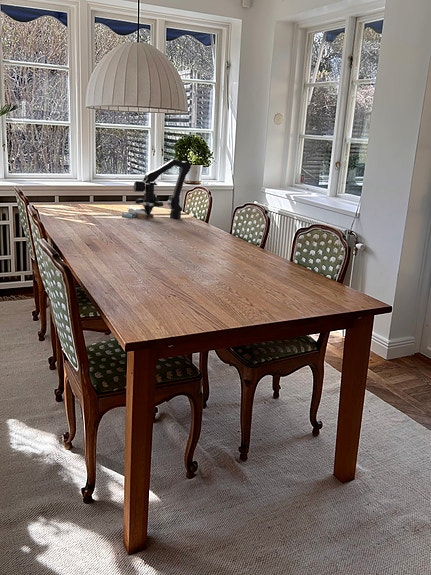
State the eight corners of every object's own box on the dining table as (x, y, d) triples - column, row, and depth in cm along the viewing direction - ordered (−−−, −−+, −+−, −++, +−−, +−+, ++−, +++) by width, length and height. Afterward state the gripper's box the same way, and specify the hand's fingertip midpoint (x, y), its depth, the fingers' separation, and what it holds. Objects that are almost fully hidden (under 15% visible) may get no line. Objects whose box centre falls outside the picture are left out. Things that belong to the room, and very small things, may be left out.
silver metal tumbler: (148, 217, 352) (149, 209, 351) (143, 217, 347) (144, 209, 346) (132, 215, 358) (133, 206, 357) (127, 214, 353) (128, 206, 352)
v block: (137, 218, 348) (137, 213, 348) (131, 219, 343) (131, 214, 343) (127, 216, 352) (127, 212, 351) (121, 217, 347) (121, 213, 346)
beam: (153, 218, 353) (153, 214, 352) (145, 220, 345) (145, 215, 344) (127, 213, 363) (127, 209, 362) (118, 215, 355) (118, 210, 354)
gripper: (168, 192, 347) (167, 216, 351) (145, 189, 355) (144, 212, 359) (158, 194, 337) (157, 218, 342) (135, 190, 345) (134, 214, 350)
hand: (148, 215), depth 348 cm, fingers closed
